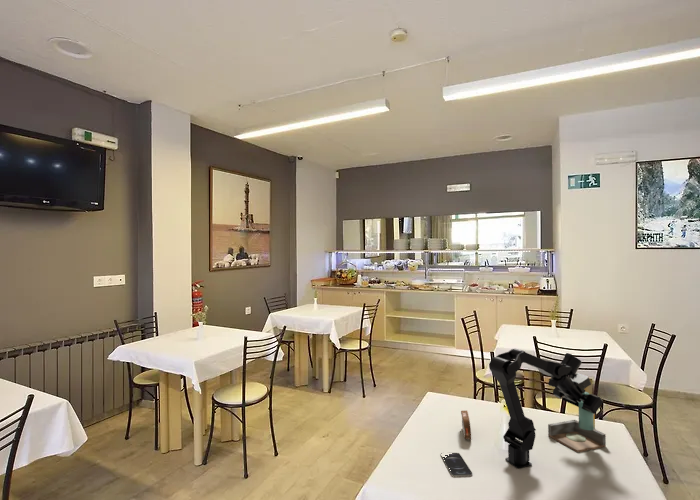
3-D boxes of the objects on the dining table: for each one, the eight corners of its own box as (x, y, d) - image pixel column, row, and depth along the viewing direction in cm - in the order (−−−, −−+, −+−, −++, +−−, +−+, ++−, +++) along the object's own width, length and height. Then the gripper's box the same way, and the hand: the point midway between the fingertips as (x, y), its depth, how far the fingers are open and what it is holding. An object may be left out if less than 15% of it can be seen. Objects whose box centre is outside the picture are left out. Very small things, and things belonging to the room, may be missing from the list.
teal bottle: (586, 431, 149) (586, 395, 149) (575, 425, 154) (575, 391, 154) (596, 429, 150) (596, 394, 150) (585, 424, 155) (585, 390, 155)
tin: (471, 443, 154) (471, 422, 154) (463, 442, 155) (463, 421, 155) (468, 426, 169) (467, 407, 169) (460, 426, 170) (460, 406, 170)
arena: (577, 452, 146) (577, 439, 146) (548, 436, 160) (548, 424, 160) (605, 446, 151) (605, 434, 151) (575, 431, 164) (574, 419, 164)
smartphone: (459, 452, 147) (473, 474, 132) (459, 454, 147) (473, 477, 132) (439, 453, 146) (451, 475, 131) (439, 455, 146) (451, 477, 131)
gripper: (598, 375, 142) (622, 402, 145) (558, 362, 160) (579, 386, 163) (581, 399, 140) (606, 426, 143) (542, 383, 158) (564, 407, 161)
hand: (588, 410), depth 152 cm, fingers closed on teal bottle, 5 cm apart
